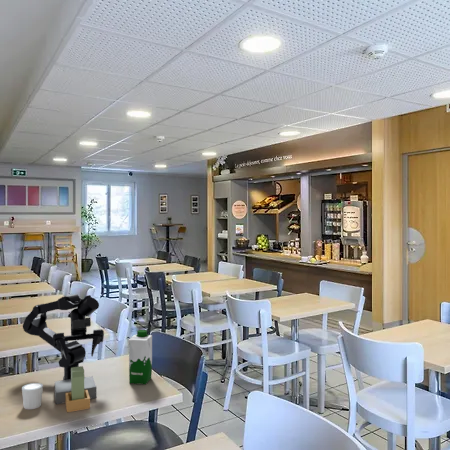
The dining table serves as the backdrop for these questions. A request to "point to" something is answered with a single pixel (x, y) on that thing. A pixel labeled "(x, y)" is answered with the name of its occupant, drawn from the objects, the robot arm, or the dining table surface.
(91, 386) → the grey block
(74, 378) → the green tall box
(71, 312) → the robot arm
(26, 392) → the white cup
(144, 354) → the milk carton
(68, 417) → the dining table surface
